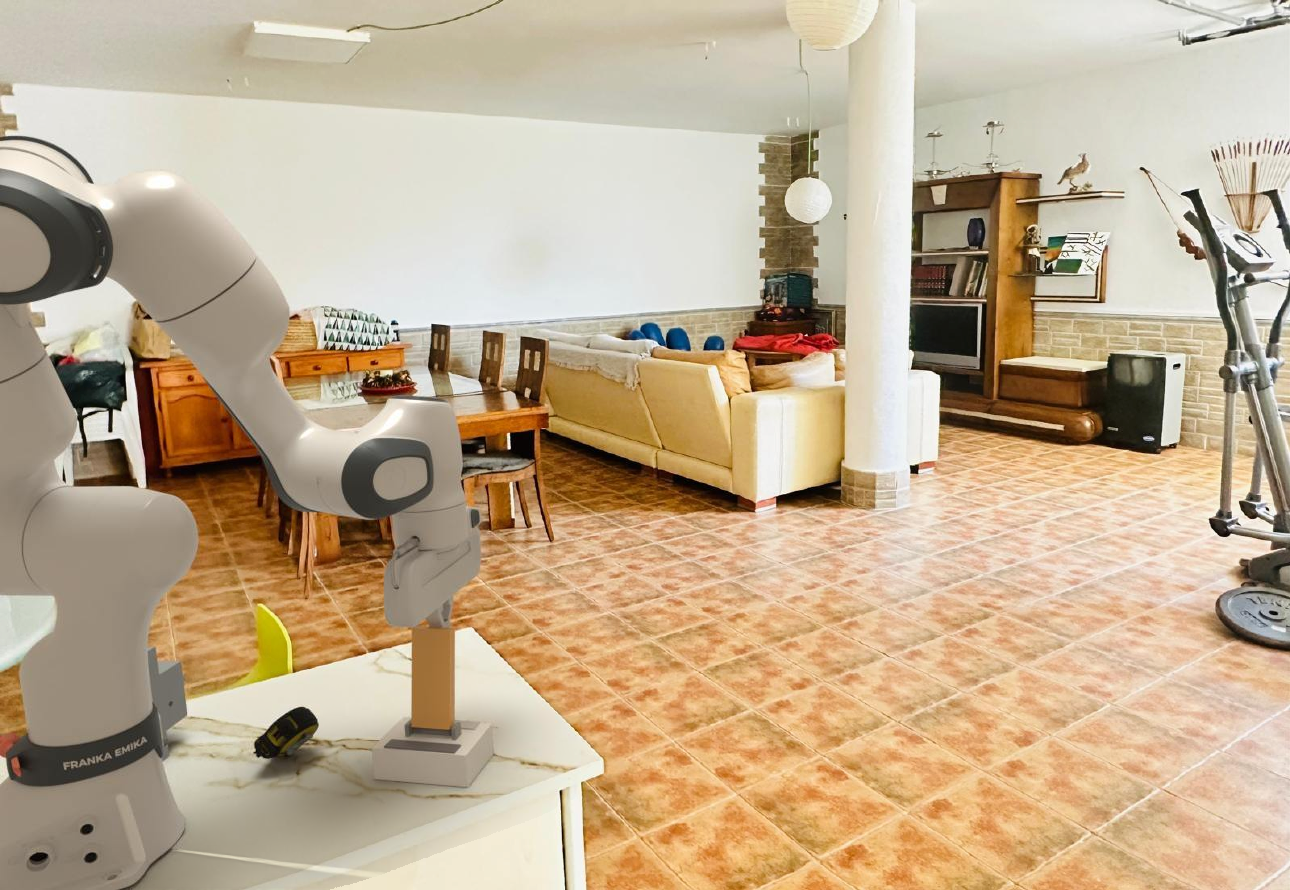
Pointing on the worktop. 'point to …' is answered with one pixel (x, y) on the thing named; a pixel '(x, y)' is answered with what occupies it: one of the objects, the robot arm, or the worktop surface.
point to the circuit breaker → (167, 692)
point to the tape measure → (287, 734)
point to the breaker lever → (433, 680)
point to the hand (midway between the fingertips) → (440, 634)
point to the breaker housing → (433, 754)
